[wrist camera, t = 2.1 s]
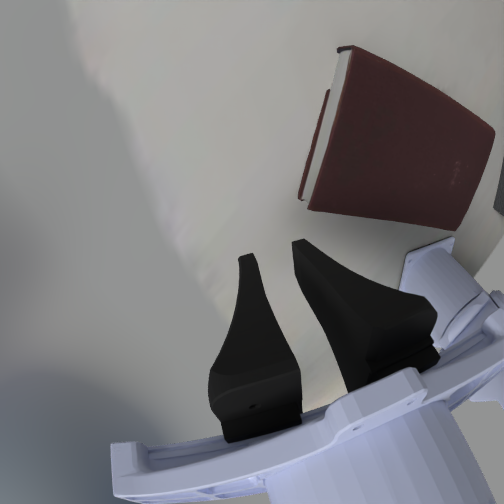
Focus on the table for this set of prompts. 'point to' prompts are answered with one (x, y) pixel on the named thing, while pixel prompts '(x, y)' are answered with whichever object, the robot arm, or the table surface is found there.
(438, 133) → the book
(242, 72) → the table surface
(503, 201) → the bookend
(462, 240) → the table surface
